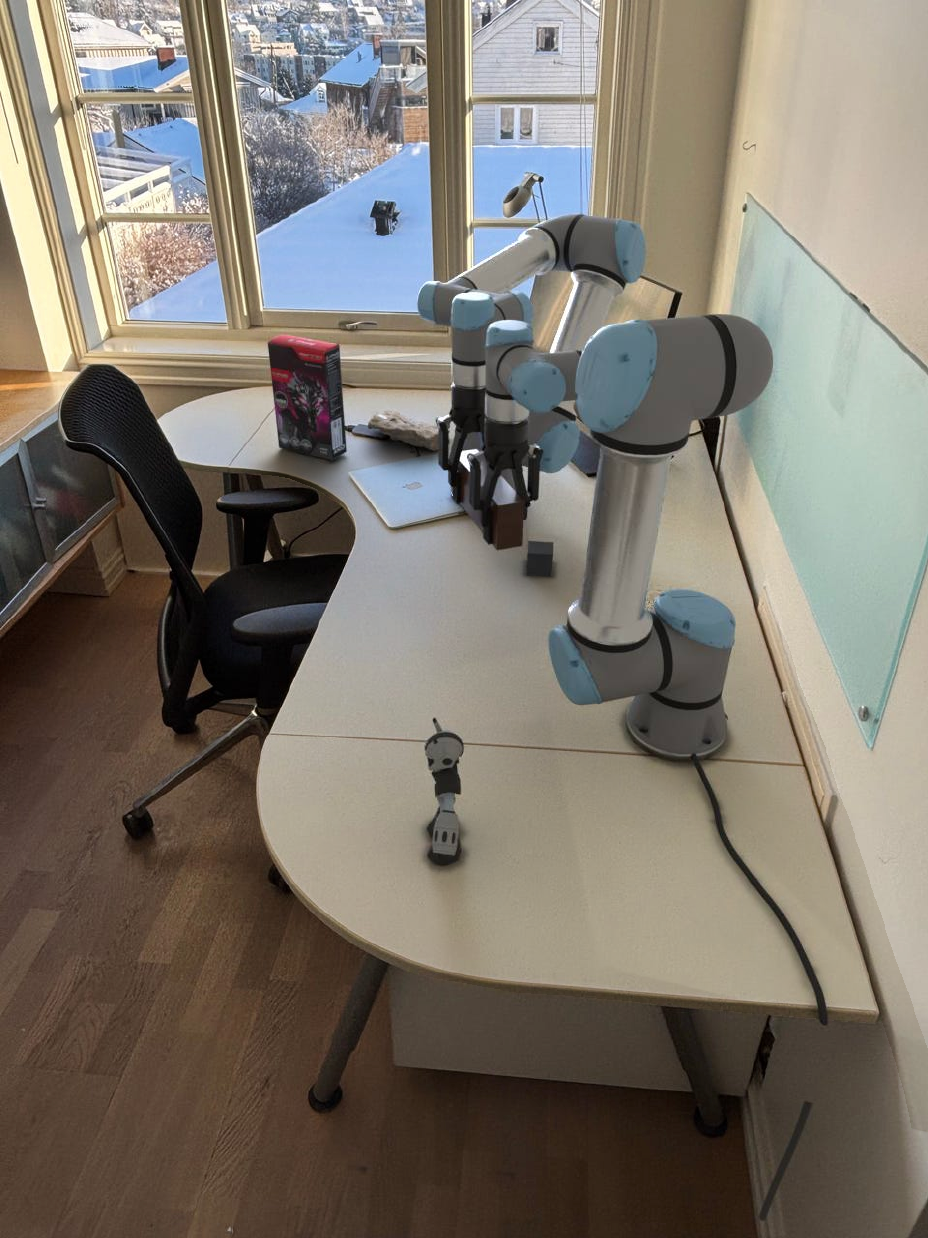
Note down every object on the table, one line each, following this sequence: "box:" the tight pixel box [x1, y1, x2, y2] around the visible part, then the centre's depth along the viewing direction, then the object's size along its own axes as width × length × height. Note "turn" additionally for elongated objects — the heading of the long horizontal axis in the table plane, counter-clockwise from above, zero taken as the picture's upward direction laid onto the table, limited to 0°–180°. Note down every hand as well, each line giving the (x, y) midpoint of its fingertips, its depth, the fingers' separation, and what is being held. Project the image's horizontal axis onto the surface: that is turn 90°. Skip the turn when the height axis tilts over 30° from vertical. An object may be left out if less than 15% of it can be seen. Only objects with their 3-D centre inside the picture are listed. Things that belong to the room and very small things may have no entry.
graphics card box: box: [267, 333, 348, 461], centre depth 223 cm, size 17×7×27 cm, turn 62°
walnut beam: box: [458, 449, 525, 551], centre depth 172 cm, size 24×5×9 cm, turn 20°
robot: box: [423, 717, 465, 867], centre depth 118 cm, size 20×5×20 cm, turn 3°
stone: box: [367, 410, 451, 451], centre depth 235 cm, size 21×15×6 cm
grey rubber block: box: [525, 540, 555, 577], centre depth 182 cm, size 5×5×5 cm
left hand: (470, 497), depth 181 cm, fingers closed on walnut beam, 5 cm apart
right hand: (502, 538), depth 168 cm, fingers closed on walnut beam, 5 cm apart
